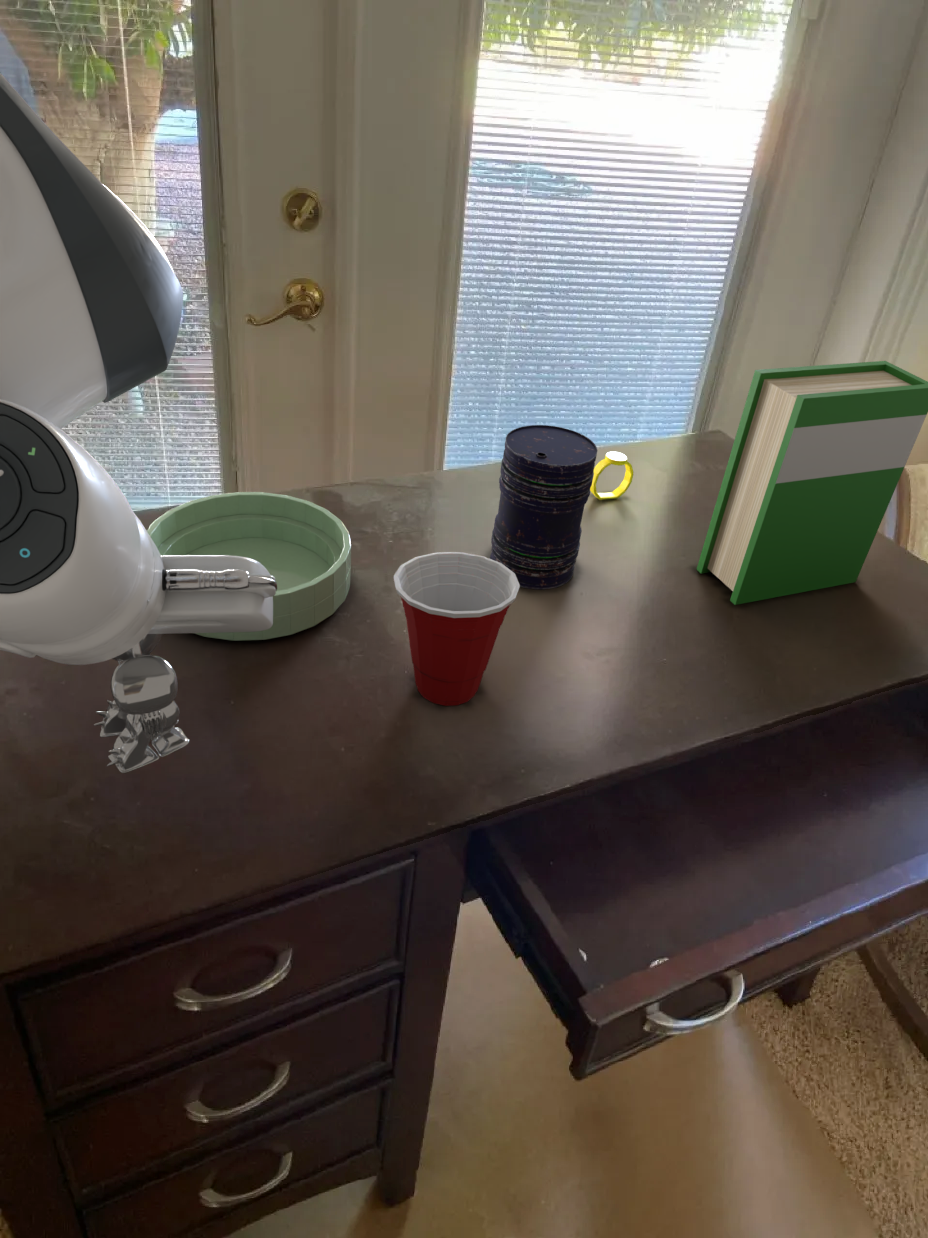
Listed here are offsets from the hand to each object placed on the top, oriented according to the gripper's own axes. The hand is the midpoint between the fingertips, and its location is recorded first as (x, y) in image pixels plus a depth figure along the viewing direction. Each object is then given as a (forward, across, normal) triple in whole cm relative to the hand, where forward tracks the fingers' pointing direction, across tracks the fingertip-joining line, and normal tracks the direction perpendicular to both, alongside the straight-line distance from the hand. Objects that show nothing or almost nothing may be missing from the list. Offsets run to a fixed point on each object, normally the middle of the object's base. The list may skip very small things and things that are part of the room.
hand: (123, 618), depth 60 cm
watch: (+44, -52, -22) cm, 72 cm away
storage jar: (+33, -38, -10) cm, 51 cm away
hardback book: (+30, -67, -8) cm, 74 cm away
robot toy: (+6, 0, +7) cm, 9 cm away
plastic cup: (+19, -25, +4) cm, 32 cm away
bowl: (+31, -7, -8) cm, 32 cm away
